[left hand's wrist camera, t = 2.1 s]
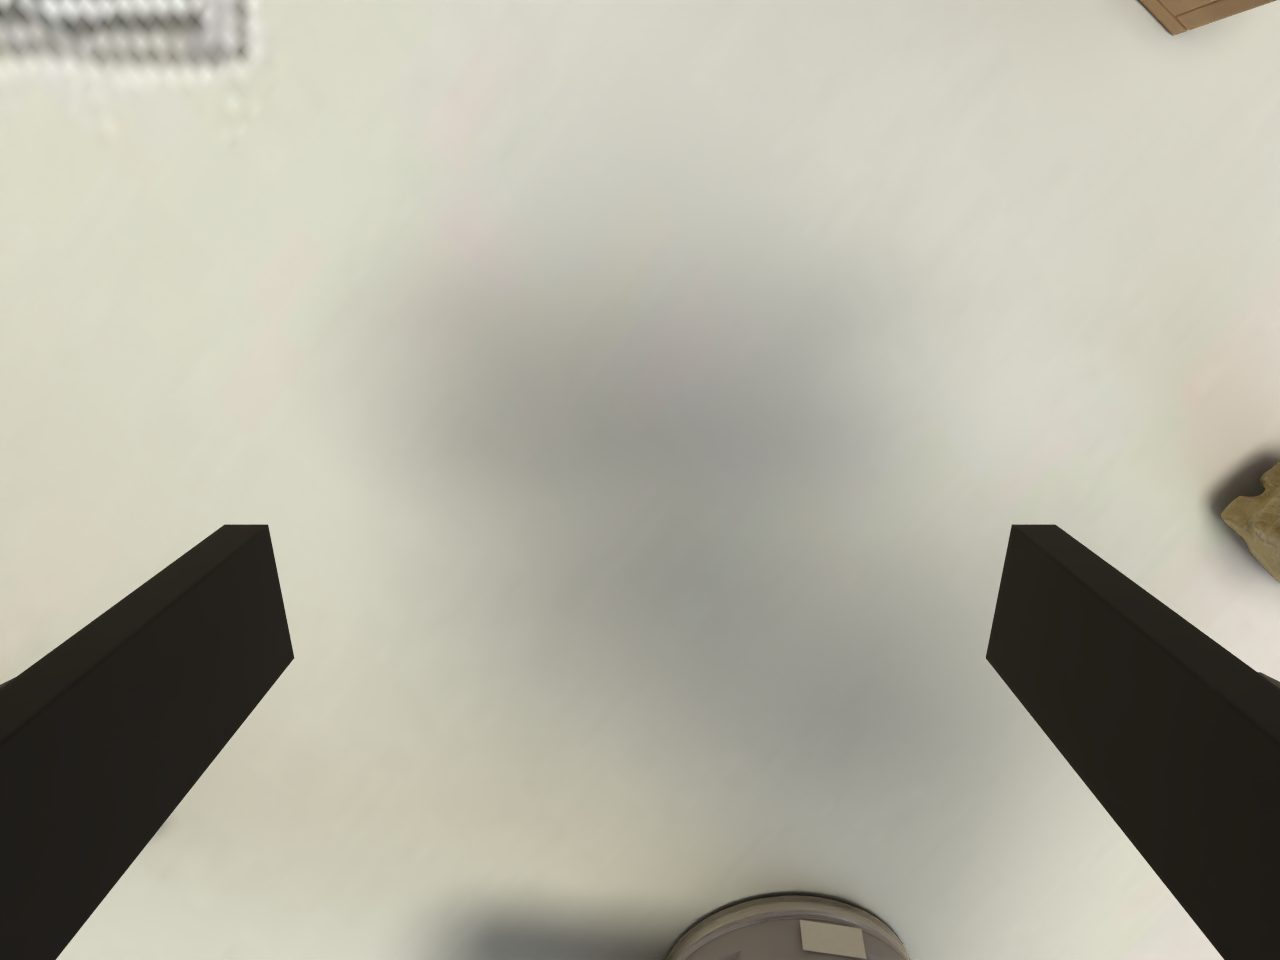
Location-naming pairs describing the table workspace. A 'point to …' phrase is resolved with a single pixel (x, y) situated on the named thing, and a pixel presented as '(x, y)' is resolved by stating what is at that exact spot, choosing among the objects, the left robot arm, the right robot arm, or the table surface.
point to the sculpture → (1260, 521)
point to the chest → (1196, 11)
